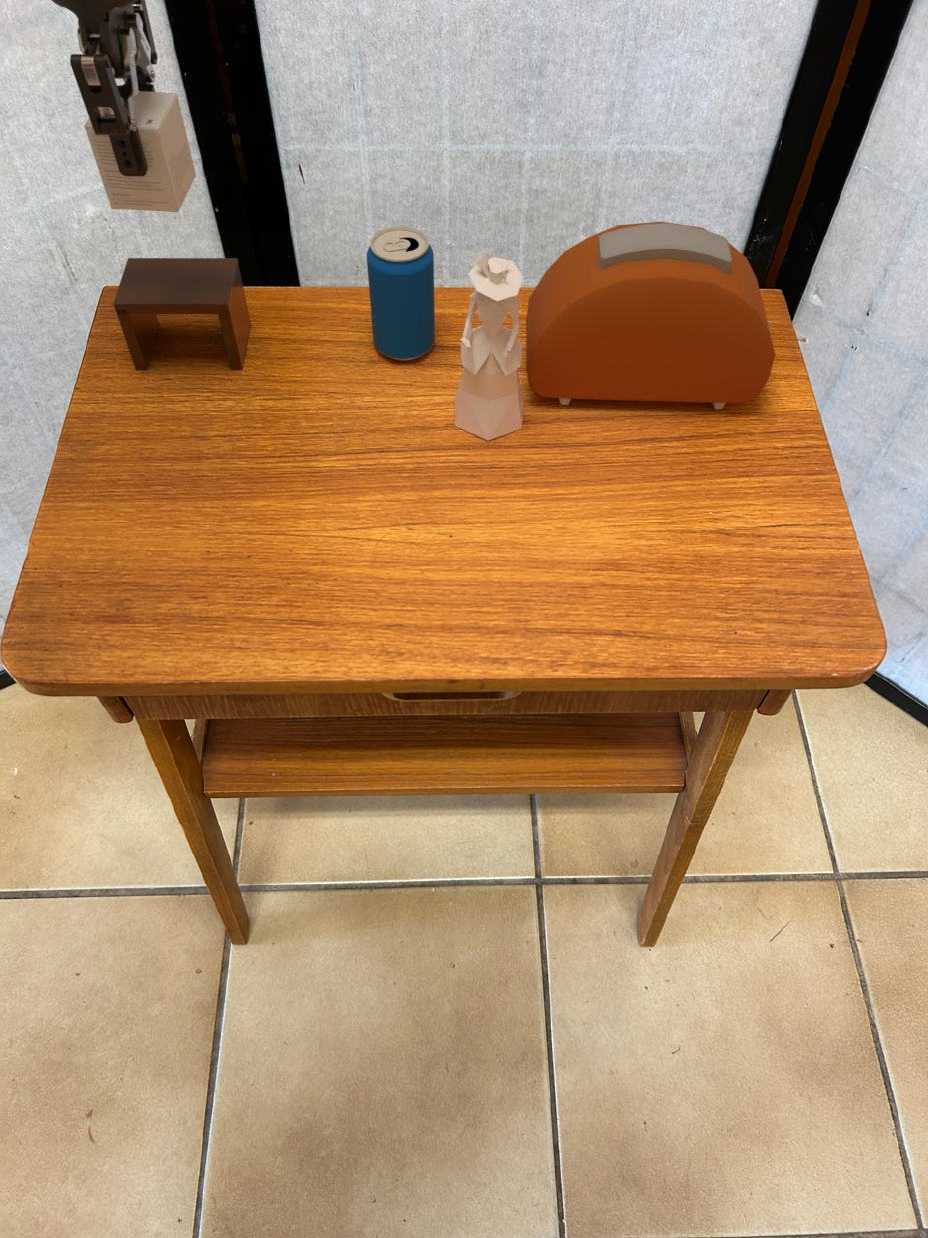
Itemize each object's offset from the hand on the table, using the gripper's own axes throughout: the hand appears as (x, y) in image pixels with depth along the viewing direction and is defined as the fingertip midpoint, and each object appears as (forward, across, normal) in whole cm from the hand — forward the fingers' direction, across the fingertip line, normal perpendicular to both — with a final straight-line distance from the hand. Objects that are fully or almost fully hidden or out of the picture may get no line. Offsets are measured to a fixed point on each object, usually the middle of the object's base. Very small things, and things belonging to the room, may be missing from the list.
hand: (143, 150), depth 80 cm
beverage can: (+23, +4, -21) cm, 31 cm away
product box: (+4, 0, 0) cm, 4 cm away
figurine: (+23, -7, -30) cm, 38 cm away
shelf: (+23, +3, +1) cm, 23 cm away
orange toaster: (+23, -2, -45) cm, 51 cm away
